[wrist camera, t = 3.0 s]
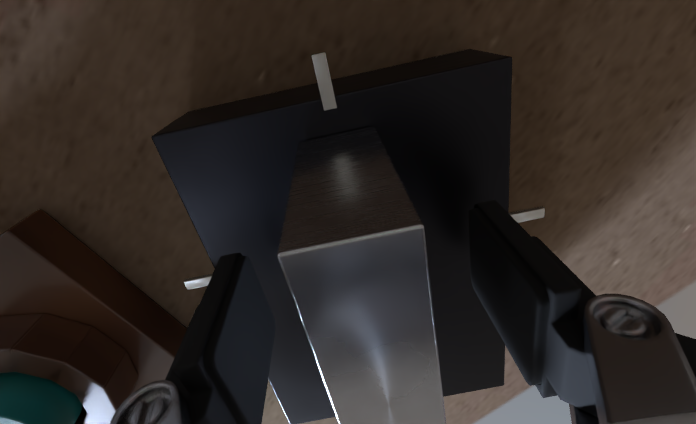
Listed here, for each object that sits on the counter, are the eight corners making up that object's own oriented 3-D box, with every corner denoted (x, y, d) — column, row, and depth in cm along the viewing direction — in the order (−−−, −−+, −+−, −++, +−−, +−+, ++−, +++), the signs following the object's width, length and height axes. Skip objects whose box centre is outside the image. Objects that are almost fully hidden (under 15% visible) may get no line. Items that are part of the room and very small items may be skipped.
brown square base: (-99, 308, 15) (-204, 379, 12) (41, 207, 14) (-41, 262, 11) (106, 426, 20) (68, 498, 17) (230, 363, 18) (211, 431, 15)
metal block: (297, 141, 10) (273, 265, 5) (374, 125, 10) (429, 233, 5) (351, 336, 14) (369, 518, 9) (407, 325, 14) (457, 503, 9)
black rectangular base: (141, 86, 12) (86, 105, 9) (503, 4, 11) (562, -2, 9) (274, 373, 19) (266, 433, 16) (499, 330, 19) (530, 384, 16)
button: (-40, 393, 14) (-85, 440, 12) (22, 356, 13) (-18, 401, 11) (43, 435, 15) (12, 482, 14) (102, 404, 15) (76, 449, 13)
